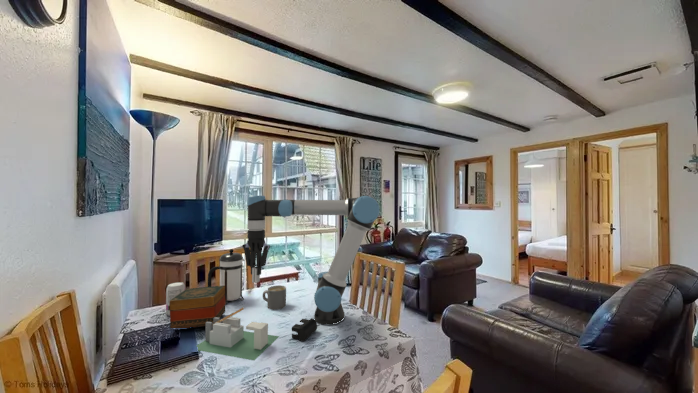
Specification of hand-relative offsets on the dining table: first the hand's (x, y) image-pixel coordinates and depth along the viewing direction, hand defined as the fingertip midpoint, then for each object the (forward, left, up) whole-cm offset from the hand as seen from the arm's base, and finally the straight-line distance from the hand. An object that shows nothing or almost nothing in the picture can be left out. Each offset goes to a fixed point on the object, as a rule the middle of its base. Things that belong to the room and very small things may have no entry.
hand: (255, 281), depth 124 cm
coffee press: (+36, -28, -23) cm, 51 cm away
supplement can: (+51, -6, -23) cm, 57 cm away
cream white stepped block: (-8, +12, -21) cm, 26 cm away
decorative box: (+30, 0, -23) cm, 38 cm away
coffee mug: (+7, -29, -23) cm, 38 cm away
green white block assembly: (0, +12, -22) cm, 25 cm away
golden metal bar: (+6, +12, -12) cm, 18 cm away
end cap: (-24, -1, -23) cm, 33 cm away
